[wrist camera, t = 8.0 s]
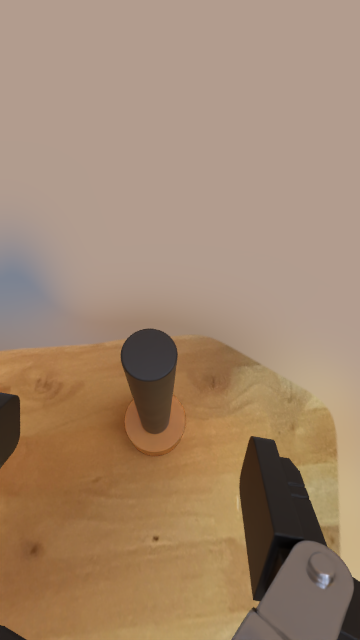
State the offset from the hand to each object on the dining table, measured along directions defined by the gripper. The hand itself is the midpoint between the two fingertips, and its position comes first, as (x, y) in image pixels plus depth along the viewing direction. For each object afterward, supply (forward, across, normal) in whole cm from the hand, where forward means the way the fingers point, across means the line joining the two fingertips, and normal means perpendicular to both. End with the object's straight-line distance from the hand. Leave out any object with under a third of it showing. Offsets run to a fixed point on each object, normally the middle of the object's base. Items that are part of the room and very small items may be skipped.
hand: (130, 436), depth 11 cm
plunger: (+15, 0, +11) cm, 18 cm away
